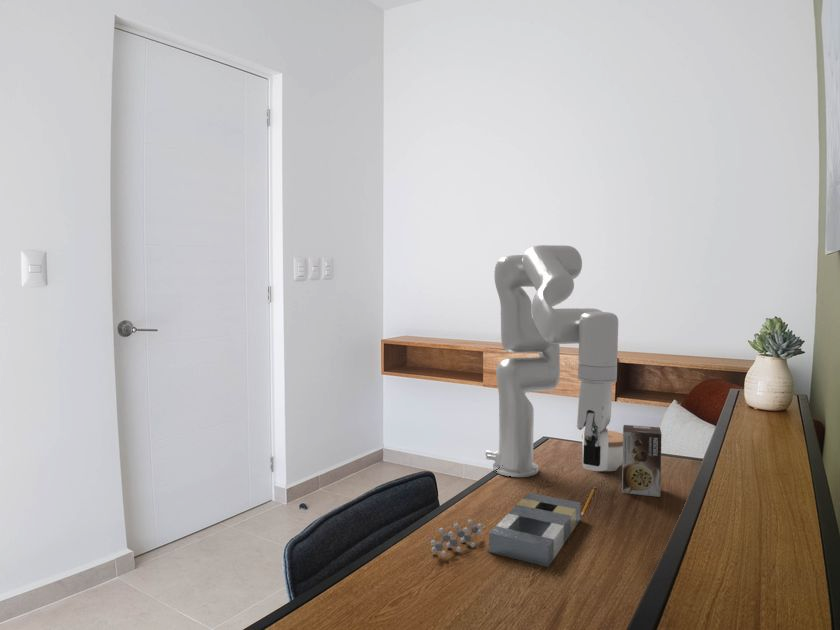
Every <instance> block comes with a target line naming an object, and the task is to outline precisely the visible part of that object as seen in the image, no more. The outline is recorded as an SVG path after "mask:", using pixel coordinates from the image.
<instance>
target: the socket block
mask: <svg viewBox="0 0 840 630" xmlns="http://www.w3.org/2000/svg"><path fill="white" fill-rule="evenodd" d="M580 521H581V501H575V500H568V499H564V498H557V497H553V496H548V495H542V494H538V493H533V492H528V493H526V495H525V496H524V497H523V498H522V499H521V500H520V501H519V502H518V503H517V504H516V505H515V506H514V507H513V508H512V509H511V510H510V511H509V512H508V513H507V514H506V515H505V516H504V517H503V518H502V519H501V520H500V521H499V522H498V523H497V524H496V525H495V526H494V527H493V528H492V529H491V530H490V532H489V533H488V534H489V535H488V553H491V554H495V555H498V556H503V557H507V558H510V559H515V560H518V561H523V562H526V563H530V564H535V565H537V566H542V567H545V568H549V566H550V565H551V563H552V562H553V560H555V558H556V556H557V555H558V553H559V552H560V550H561V549H562V547H563V546H564V544H565V543H566V541H567V540H568V539H569V537H570V536H571V534H572V533H573V531H574V530H575V529H576V527H577V525H578V524H579V522H580Z"/></svg>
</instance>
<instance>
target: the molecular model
mask: <svg viewBox="0 0 840 630" xmlns="http://www.w3.org/2000/svg"><path fill="white" fill-rule="evenodd" d="M467 524H468V525H471V527H470V531H471V532H470V533H468V532H469V528H468V527H466V526H465V527H463V528H460V529H459V527H460V526H459V524H458V523H454V524H453V528H454V529H455V530H457V531H456V535H457V536H456V537H454V532H453V531H452V530H450V531H449V532H446V533H445V532H444V531H445V530H444V528H443V527H440V528H439V529H438V532H439V533H440V534H442V537H441V538H442V540H441V542H440V541H437V542H436V540H435V539H432V540H431V541H430V545H431V546H433V547H432V548H431V552H432V553H433V554H435V553H436V552H440V556H441V557H444V558H445V557H446V556H447V552H446V551H445V550H443V547H444V546H443V543H444V542H445V543H446V545H445V546H446V547H447V548H448V549H451V547H455V551H456V552H457V553H460V552H461V551H462V548H461V547H460V546H458V542H460V543H461V544H464V543H468V542H469V546H470V548H475V547H476V543H475V542H472V538H473V537H472V534H477V535H478V536H481V535H482V534H483V531H482V529H483V524H482V523H478V524H477V525H476V524H474V522H473V519H468V520H467ZM459 538H460V541H458V539H459Z"/></svg>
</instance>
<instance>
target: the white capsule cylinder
mask: <svg viewBox="0 0 840 630" xmlns="http://www.w3.org/2000/svg"><path fill="white" fill-rule="evenodd" d="M595 431H597V430H595ZM582 434H583V439H582V457H581V458H582V460H581V464H582V465H581V467H582V468H583V469H585V470H588V471H591V472H606V471H605V470H607V469H608V439H609V434H608V433H606V432H604V431H601V432H600V439H599V446H601V451H600V465H599V466H592V465H586V464H584V463H583V456H584V431H583V432H582ZM593 435H594V436H595V439H596V434H594V433H593Z"/></svg>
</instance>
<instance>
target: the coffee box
mask: <svg viewBox="0 0 840 630" xmlns="http://www.w3.org/2000/svg"><path fill="white" fill-rule="evenodd" d="M622 428H623V429H622V434H623V464H622V473H621V474H622V477H621V478H622V481H621V483H622V484H621V487H622V488H621V493H622V494H628V495H629V494H630V495H638V496H647V497H658V498H660V497H661V490H662V489H661V482H662V480H661V479H662V477H661V476H662V474H661V473H662V471H661V470H662V435H663V434H662V431H661V427H659V426H645V425H643V426H642V425H630V424H623V427H622Z"/></svg>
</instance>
